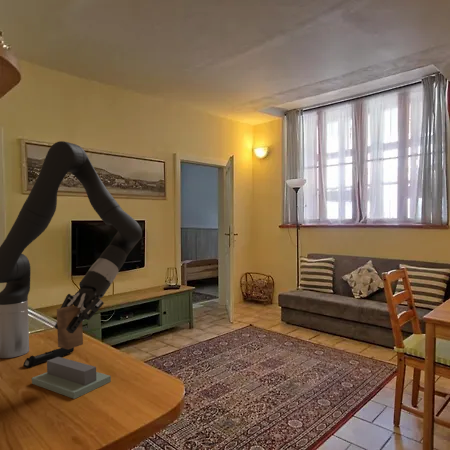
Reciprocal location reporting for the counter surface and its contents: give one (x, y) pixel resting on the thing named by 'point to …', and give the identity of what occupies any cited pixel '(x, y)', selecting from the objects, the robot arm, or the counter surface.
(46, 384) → the ridge board
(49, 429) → the counter surface
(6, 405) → the counter surface
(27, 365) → the electric trimmer
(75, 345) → the brown wooden block
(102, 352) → the counter surface
